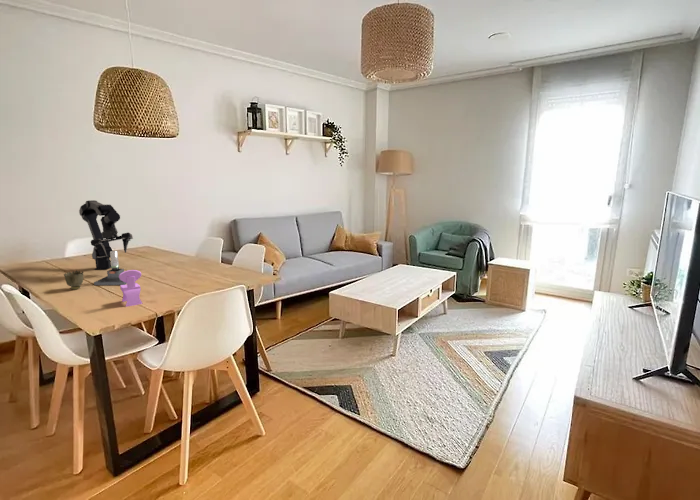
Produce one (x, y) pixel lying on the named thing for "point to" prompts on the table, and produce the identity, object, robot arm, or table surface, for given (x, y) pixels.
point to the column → (114, 260)
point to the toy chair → (130, 287)
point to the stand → (111, 278)
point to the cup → (74, 279)
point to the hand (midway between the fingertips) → (116, 254)
